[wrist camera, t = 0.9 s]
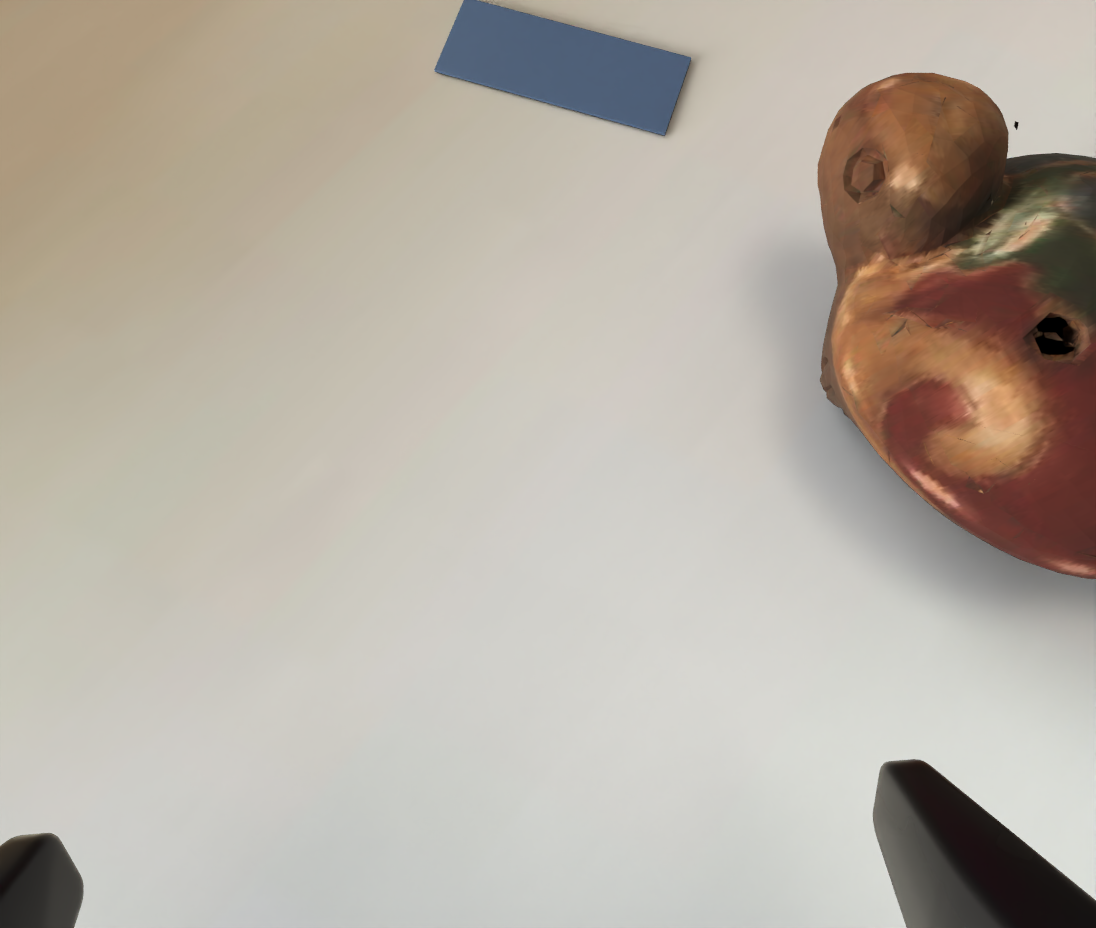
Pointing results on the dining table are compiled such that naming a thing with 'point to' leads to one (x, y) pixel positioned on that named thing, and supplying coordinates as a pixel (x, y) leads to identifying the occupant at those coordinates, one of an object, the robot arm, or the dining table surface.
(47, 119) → the dining table surface
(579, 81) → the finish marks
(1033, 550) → the decorative turtle
